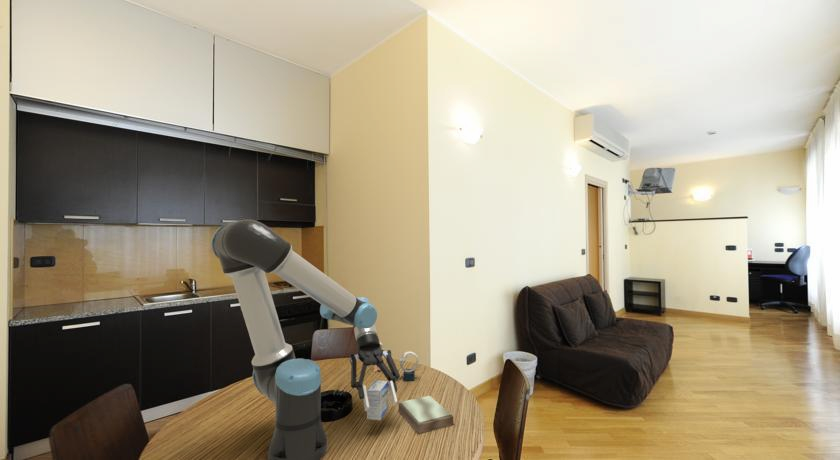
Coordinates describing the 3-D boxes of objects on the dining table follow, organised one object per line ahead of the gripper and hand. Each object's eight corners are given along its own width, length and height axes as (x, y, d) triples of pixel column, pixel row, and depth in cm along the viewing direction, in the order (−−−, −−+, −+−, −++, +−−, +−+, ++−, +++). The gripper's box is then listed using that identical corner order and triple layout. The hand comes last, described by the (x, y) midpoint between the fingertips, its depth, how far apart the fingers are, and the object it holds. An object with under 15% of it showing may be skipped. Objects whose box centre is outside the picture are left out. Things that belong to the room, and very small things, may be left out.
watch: (399, 376, 148) (399, 350, 148) (418, 376, 147) (418, 350, 148) (398, 381, 142) (398, 354, 143) (418, 381, 142) (417, 354, 142)
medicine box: (380, 421, 102) (381, 390, 102) (366, 419, 103) (366, 389, 103) (388, 409, 109) (388, 380, 110) (375, 407, 110) (375, 379, 111)
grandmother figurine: (372, 373, 151) (372, 344, 152) (369, 370, 155) (369, 341, 155) (388, 370, 155) (388, 341, 156) (385, 367, 159) (385, 339, 159)
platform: (418, 433, 103) (418, 423, 103) (398, 410, 117) (398, 401, 117) (453, 424, 108) (453, 414, 108) (430, 403, 122) (430, 394, 122)
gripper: (392, 341, 125) (410, 405, 110) (334, 347, 117) (344, 418, 101) (398, 329, 121) (417, 394, 105) (338, 335, 112) (348, 407, 97)
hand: (381, 406), depth 103 cm, fingers closed on medicine box, 8 cm apart
